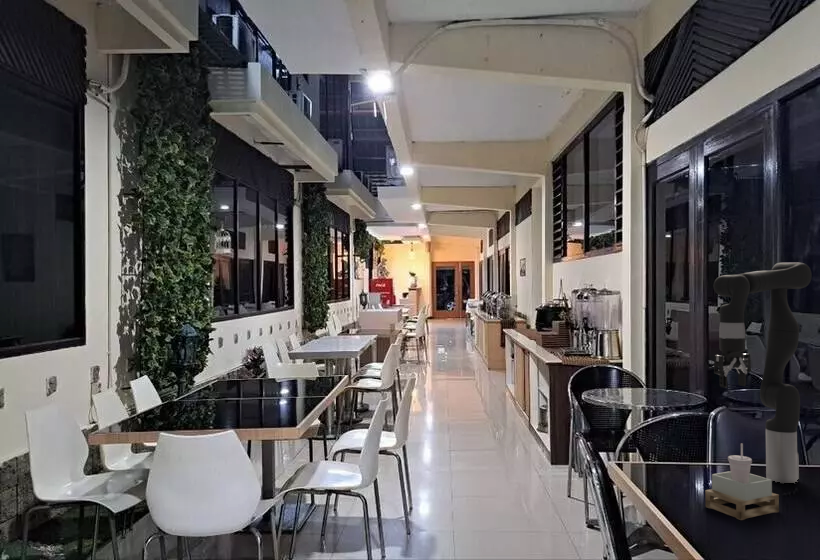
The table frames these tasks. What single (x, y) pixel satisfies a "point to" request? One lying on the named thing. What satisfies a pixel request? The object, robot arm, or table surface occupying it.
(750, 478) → the grey crate
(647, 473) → the table surface
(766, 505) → the wooden pallet
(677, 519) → the table surface
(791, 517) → the table surface
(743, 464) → the smoothie
